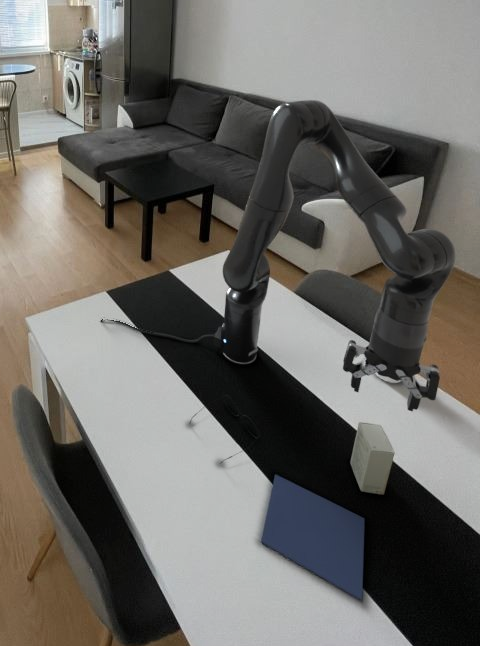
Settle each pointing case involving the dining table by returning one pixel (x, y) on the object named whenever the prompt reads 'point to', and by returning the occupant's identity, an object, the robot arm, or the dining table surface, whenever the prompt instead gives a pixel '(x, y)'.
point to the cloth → (316, 535)
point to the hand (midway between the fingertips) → (382, 397)
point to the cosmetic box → (372, 458)
